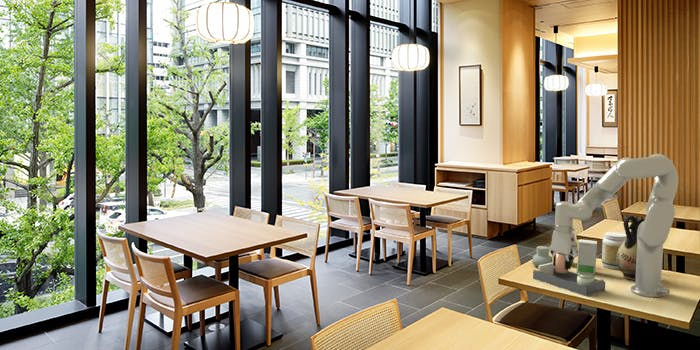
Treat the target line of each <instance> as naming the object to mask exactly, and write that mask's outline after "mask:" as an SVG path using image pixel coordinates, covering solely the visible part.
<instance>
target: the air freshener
mask: <svg viewBox="0 0 700 350" xmlns="http://www.w3.org/2000/svg"><path fill="white" fill-rule="evenodd" d="M548 247H549V246H545V245H538V246H536V254H534V255H533V256H532V260H531V263H532V265H534V266H535V267H538V266H539V265H544V264H548V263H553V257H552V255H550V251H549V249H548Z"/></svg>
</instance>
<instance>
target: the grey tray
mask: <svg viewBox="0 0 700 350" xmlns="http://www.w3.org/2000/svg"><path fill="white" fill-rule="evenodd" d="M579 274H580V273H577V272H574V271H570V270H568V273H559V272H556V271H555V266H554V269H553V275H550V274H546V273H543V272H540V271H538V269H533V271H532V279H533V280H536V281H539V280H540V281H539V282H542V281H543V283H545V282H546V283H545V284H548V283H549V284H548V285H551V286H555V287H558V288H560V289H564V290H567V291H569V292H573V293H576V294H578V295H582V296H585V297H588V296H591V295H595V294H599V293H602V292H605V291H606V281H605V280H604V279H597V278H594V282H590V283H586V286H585V285H582V284H579V283H577V275H579Z"/></svg>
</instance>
